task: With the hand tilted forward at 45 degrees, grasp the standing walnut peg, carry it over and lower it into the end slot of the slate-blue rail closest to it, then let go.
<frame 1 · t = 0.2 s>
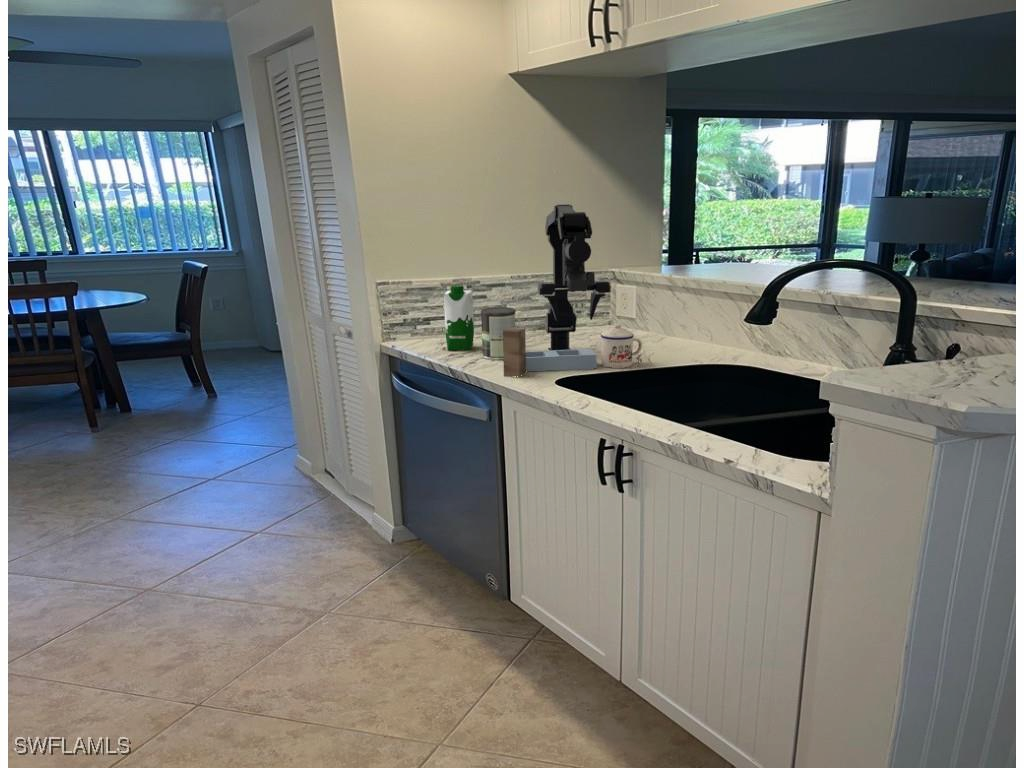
hand: (574, 320, 204), 14 cm above the counter, tool pointing down, fingers open, 9 cm apart
teacup with lid: (621, 365, 216), on the counter
peg: (515, 374, 207), on the counter
milk carton: (460, 349, 243), on the counter
rail: (568, 366, 215), on the counter
coffee can: (499, 357, 230), on the counter
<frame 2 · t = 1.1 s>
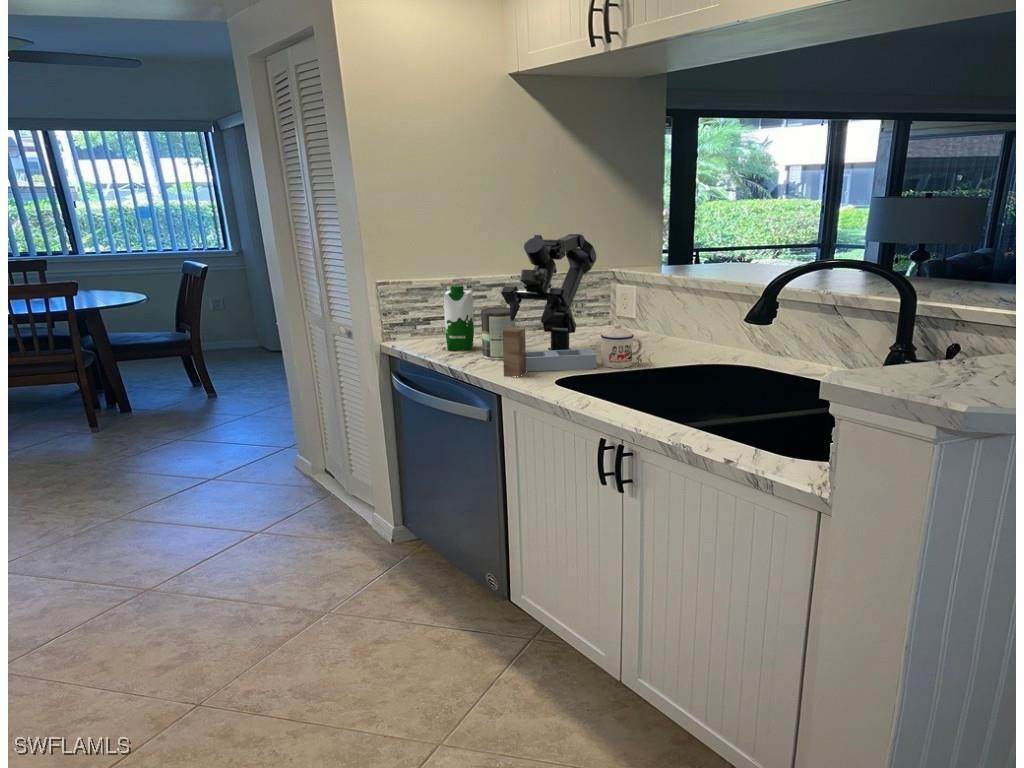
hand: (526, 321, 211), 13 cm above the counter, tool tilted 45°, fingers open, 9 cm apart
nothing on the counter moved.
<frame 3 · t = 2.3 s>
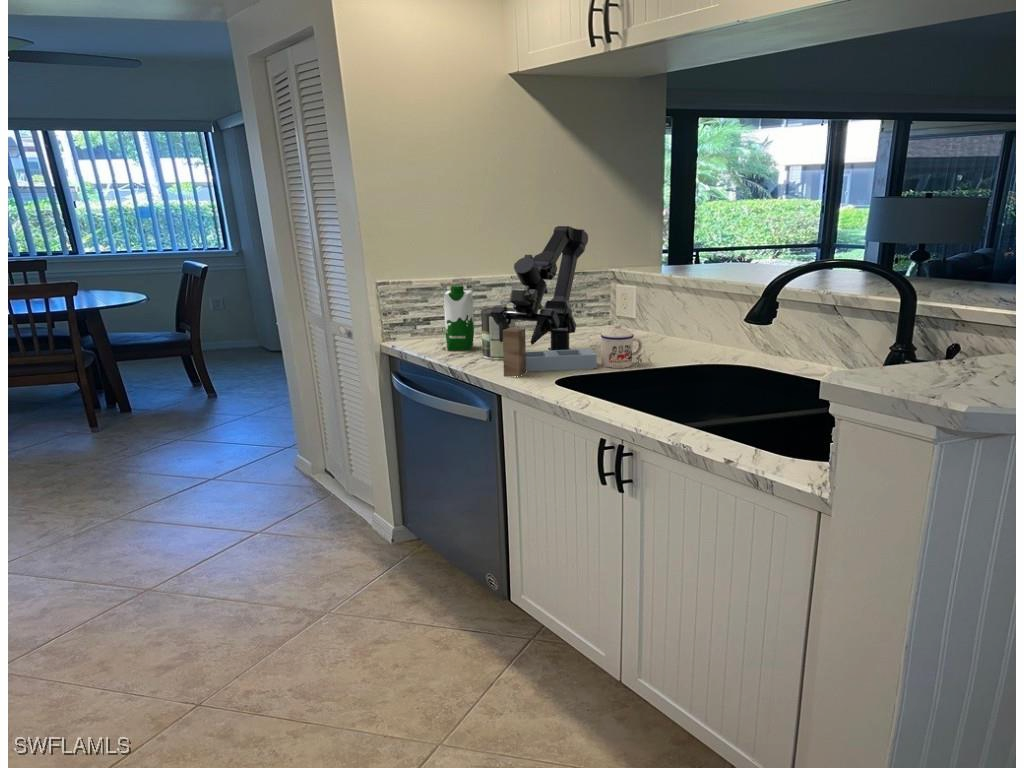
hand: (515, 342, 206), 9 cm above the counter, tool tilted 45°, fingers open, 9 cm apart
nothing on the counter moved.
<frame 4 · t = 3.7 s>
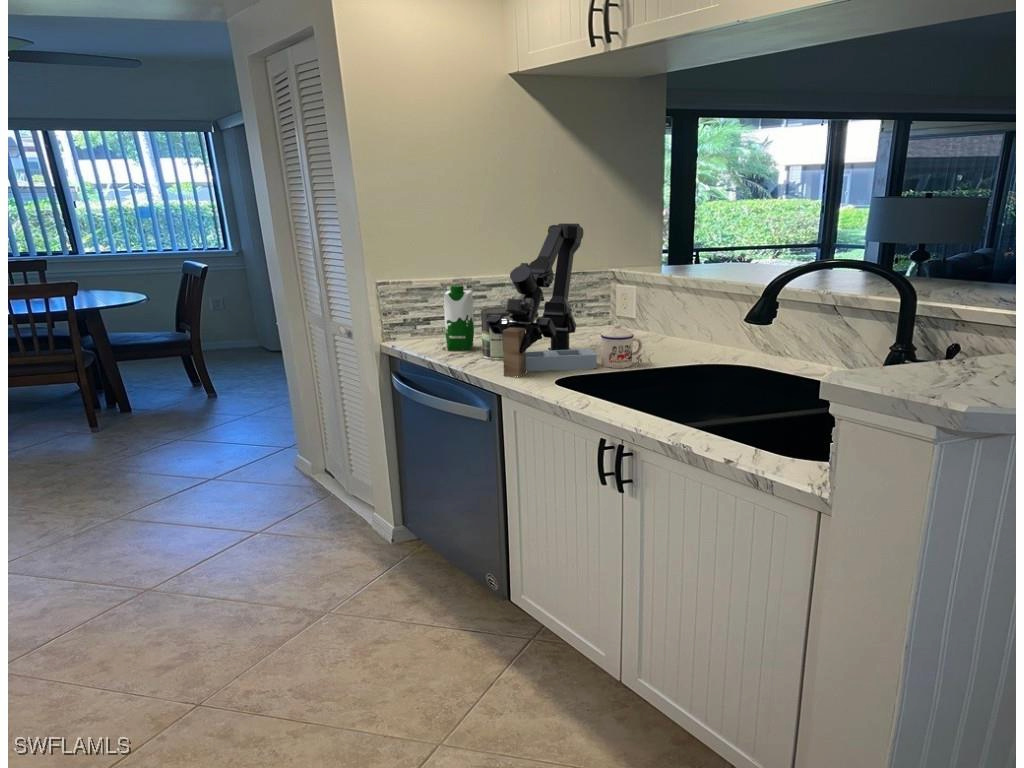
hand: (512, 352, 204), 7 cm above the counter, tool tilted 45°, fingers closed on peg, 4 cm apart
peg: (515, 374, 207), on the counter, touching gripper
everything else where it was.
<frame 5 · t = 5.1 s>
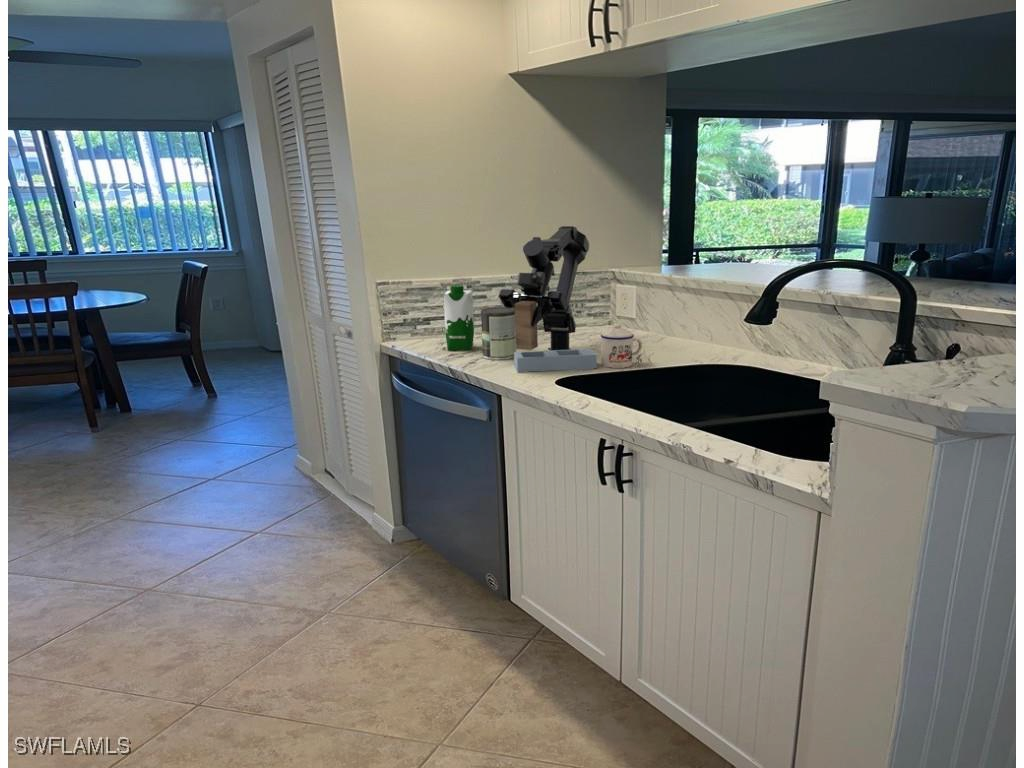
hand: (524, 325, 207), 13 cm above the counter, tool tilted 45°, fingers closed on peg, 4 cm apart
peg: (526, 347, 210), point 6 cm above the counter, touching gripper
everything else where it was.
when the fingers open (8 cm above the counter, at t = 6.9 s): peg drops 2 cm, resting in rail.
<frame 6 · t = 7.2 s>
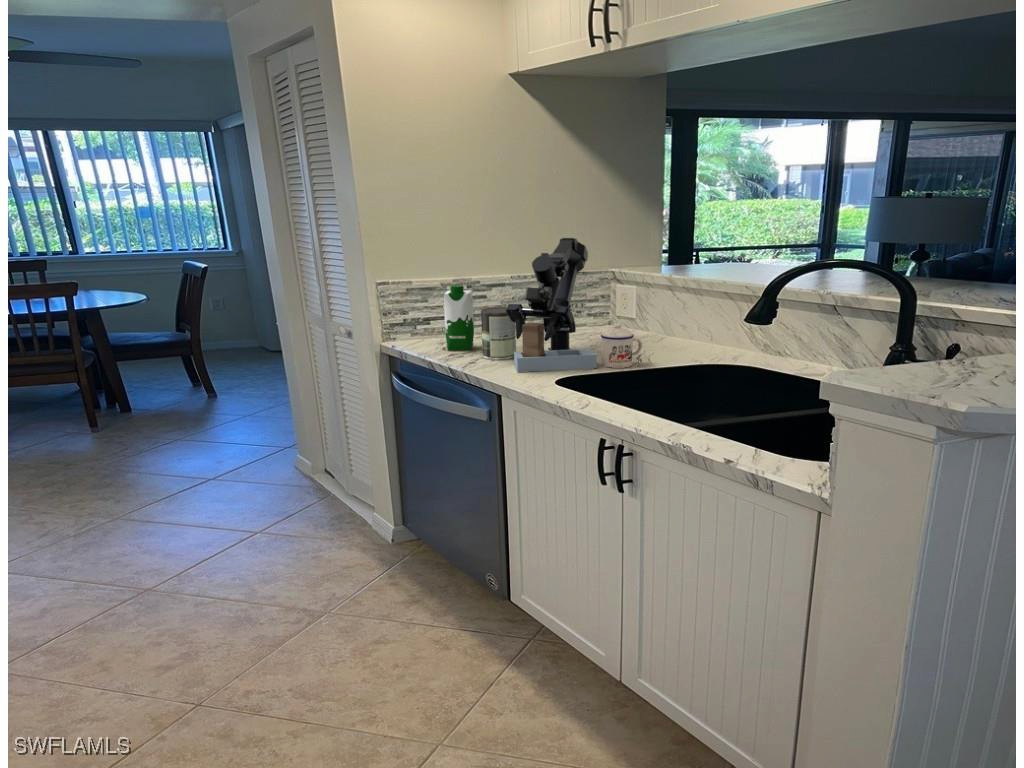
hand: (531, 339, 211), 9 cm above the counter, tool tilted 45°, fingers open, 8 cm apart
peg: (533, 368, 214), resting in rail
everything else where it was.
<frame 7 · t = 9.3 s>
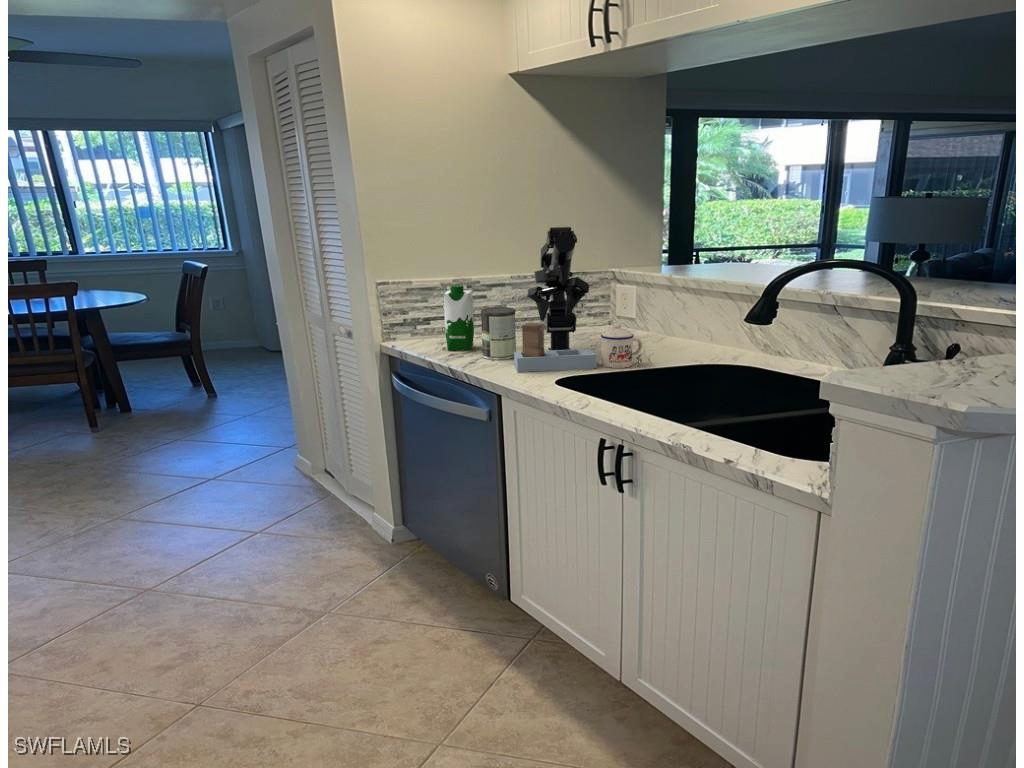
hand: (554, 318, 216), 13 cm above the counter, tool tilted 30°, fingers open, 9 cm apart
nothing on the counter moved.
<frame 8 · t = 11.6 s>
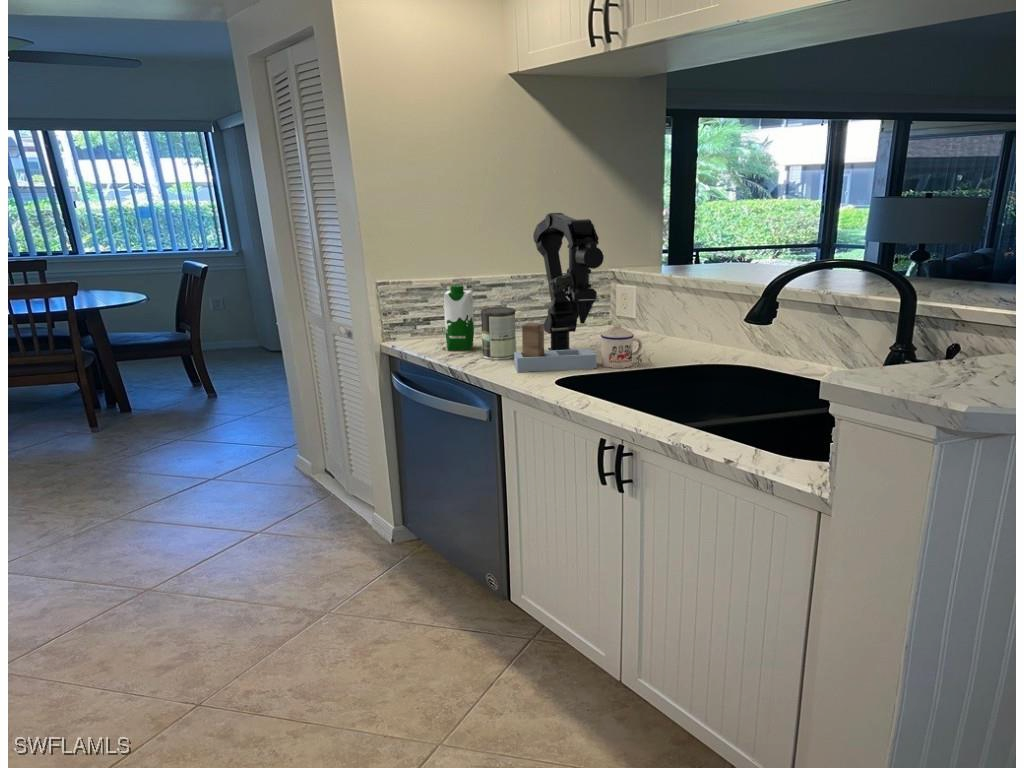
hand: (579, 320, 218), 12 cm above the counter, tool pointing down, fingers open, 9 cm apart
nothing on the counter moved.
at the end: peg 0.0 cm from the target spot on the rail, point 0.0 cm above the rail's base; peg tilted 0°; the gripper is holding nothing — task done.
